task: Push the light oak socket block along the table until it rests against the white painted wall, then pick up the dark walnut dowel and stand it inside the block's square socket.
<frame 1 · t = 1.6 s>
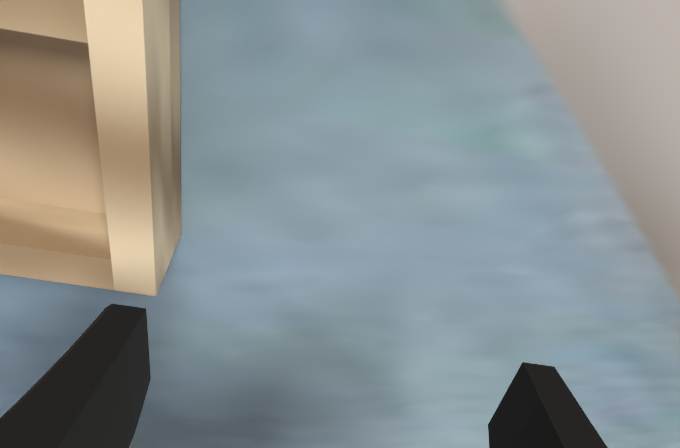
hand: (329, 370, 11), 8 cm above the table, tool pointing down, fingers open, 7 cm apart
socket block: (0, 117, 16), point 1 cm above the table, slide at 0.0 cm
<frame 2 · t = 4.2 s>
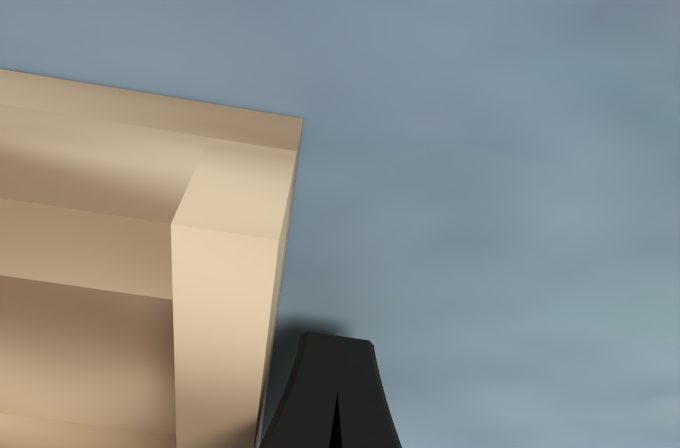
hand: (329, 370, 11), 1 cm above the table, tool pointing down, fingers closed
socket block: (16, 340, 10), point 2 cm above the table, slide at 1.1 cm, touching gripper
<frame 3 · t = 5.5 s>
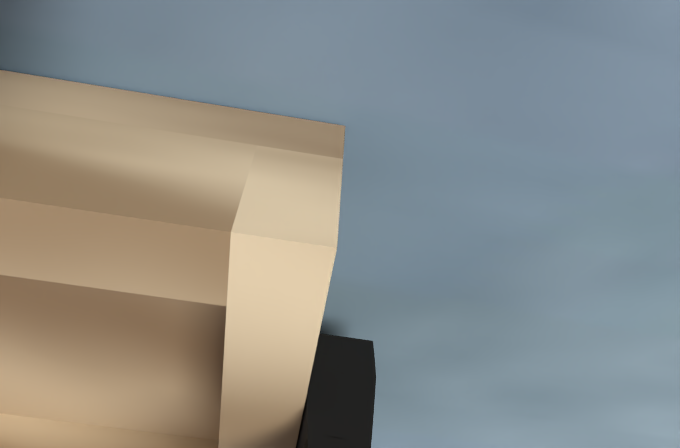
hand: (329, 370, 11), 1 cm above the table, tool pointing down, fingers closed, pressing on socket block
socket block: (54, 345, 11), point 1 cm above the table, slide at 4.0 cm, touching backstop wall, gripper
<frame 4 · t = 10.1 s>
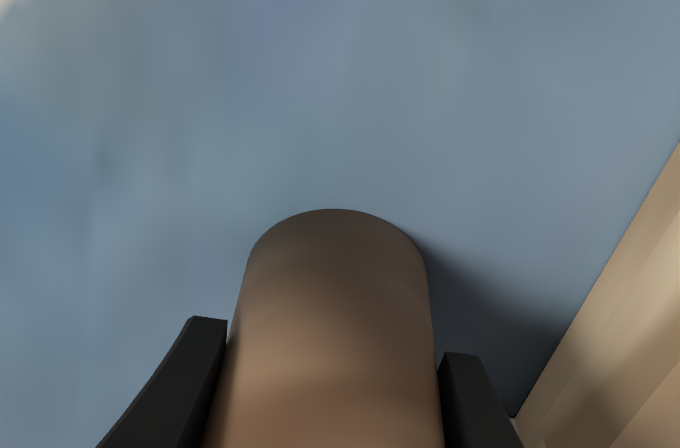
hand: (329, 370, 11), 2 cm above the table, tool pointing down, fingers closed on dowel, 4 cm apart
dowel: (336, 281, 13), on the table, touching gripper
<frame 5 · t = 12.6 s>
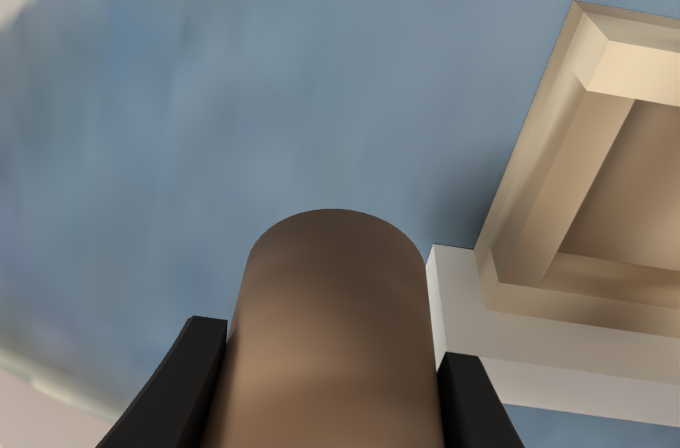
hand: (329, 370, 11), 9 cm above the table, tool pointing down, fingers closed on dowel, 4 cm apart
dowel: (335, 281, 13), point 7 cm above the table, touching gripper
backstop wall: (581, 287, 22), on the table
socket block: (670, 192, 18), point 1 cm above the table, slide at 4.0 cm
when the fingers open (5 cm above the table, at t = 15.2 s): dowel drops 1 cm, resting on socket block.
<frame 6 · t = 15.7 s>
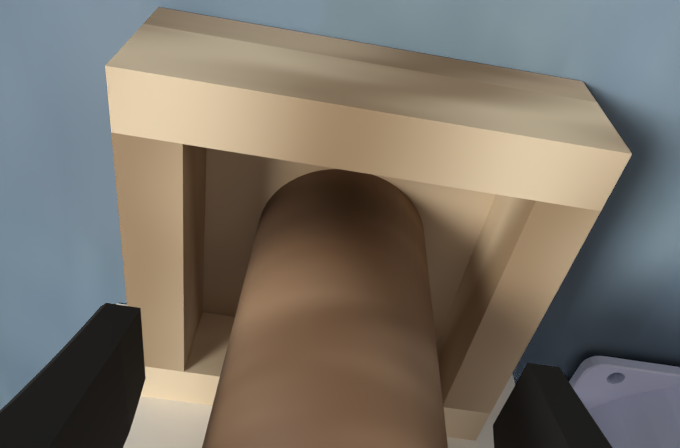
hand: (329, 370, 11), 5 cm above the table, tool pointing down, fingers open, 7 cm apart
dowel: (340, 238, 14), point 1 cm above the table, touching socket block
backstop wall: (312, 352, 18), on the table
socket block: (338, 253, 14), point 2 cm above the table, slide at 4.0 cm, touching dowel
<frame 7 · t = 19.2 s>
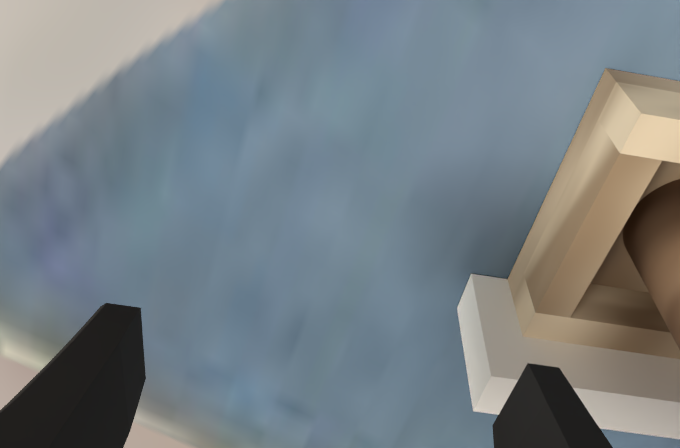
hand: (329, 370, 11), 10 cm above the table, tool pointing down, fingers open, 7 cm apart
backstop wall: (604, 312, 24), on the table
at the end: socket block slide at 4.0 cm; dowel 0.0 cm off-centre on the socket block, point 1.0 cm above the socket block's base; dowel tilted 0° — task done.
